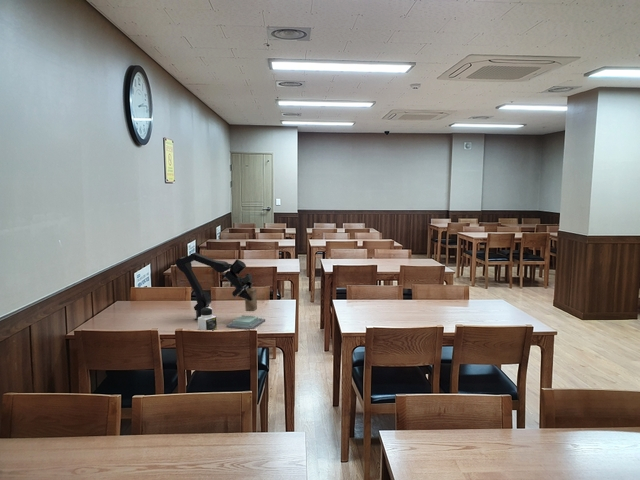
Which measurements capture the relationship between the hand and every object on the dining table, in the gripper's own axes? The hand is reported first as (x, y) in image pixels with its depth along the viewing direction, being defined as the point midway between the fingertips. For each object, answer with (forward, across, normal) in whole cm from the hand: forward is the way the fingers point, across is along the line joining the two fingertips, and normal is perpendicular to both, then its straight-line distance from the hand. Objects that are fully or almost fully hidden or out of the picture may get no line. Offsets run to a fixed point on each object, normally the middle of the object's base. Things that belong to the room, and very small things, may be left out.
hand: (253, 298), depth 251 cm
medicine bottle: (-5, -17, +24) cm, 30 cm away
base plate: (+8, -5, +11) cm, 15 cm away
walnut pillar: (+4, 0, +6) cm, 7 cm away
